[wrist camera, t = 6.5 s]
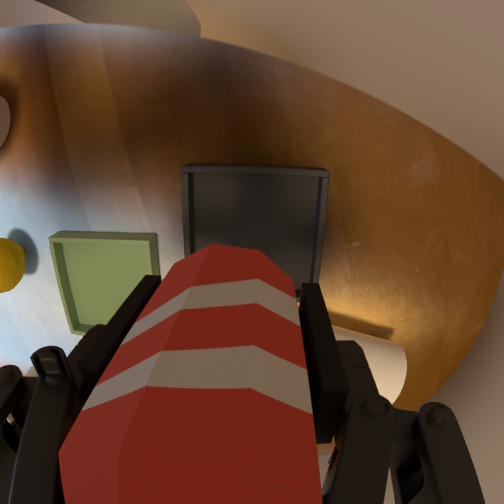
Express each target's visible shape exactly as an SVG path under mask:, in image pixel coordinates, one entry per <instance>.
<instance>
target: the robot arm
mask: <svg viewBox="0 0 504 504" xmlns="http://www.w3.org/2000/svg"><path fill="white" fill-rule="evenodd" d="M160 284H161V275H145V276H144V277H143V278H142V280H141V281H140V282H139V283H138V285H137V286H136V287H135V288H134V290H133V291H132V292H131V293H130V295H129V296H128V297H127V298H126V300H125V301H124V302H123V304H122V305H121V306H120V307H119V309H118V310H117V311H116V313H115V314H114V315H113V316H112V318H111V319H110V320H109V322H108V323H107V324H106V325H105V324H97V325H95V326H94V327H92V328H91V329H89V330H88V331H87V332H86V334H85V335H84V336H83V339H81V340H80V341H79V343H78V345H76V346H75V348H74V349H73V350H72V352H71V353H70V354H69V355H68V357H66V355H65V352H64V351H63V349H61V348H60V347H58V346H46V347H43V348H40V349H38V350H37V351H35V352H34V353H33V354H32V356H31V357H30V359H31V361H32V363H33V366H34V368H35V370H36V372H37V374H38V377H31V376H23V374H22V372H21V370H20V369H19V367H17V366H15V365H6V366H3V367H1V368H0V504H65V499H64V493H63V486H62V479H61V472H60V464H59V454H58V452H59V450H60V448H61V446H62V445H63V443H64V441H65V439H66V437H67V435H68V433H69V432H70V430H71V428H72V426H73V424H74V423H75V421H76V419H77V417H78V416H79V414H80V412H81V410H82V409H83V407H84V405H85V403H86V402H87V400H88V398H89V396H90V395H91V393H92V391H93V390H94V388H95V386H96V385H97V383H98V381H99V380H100V378H101V376H102V375H103V373H104V371H105V370H106V368H107V366H108V365H109V363H110V361H111V360H112V358H113V356H114V355H115V353H116V352H117V350H118V348H119V347H120V345H121V344H122V342H123V340H124V339H125V337H126V336H127V334H128V333H129V331H130V329H131V328H132V326H133V325H134V323H135V322H136V320H137V319H138V317H139V315H140V314H141V312H142V311H143V309H144V308H145V306H146V305H147V303H148V302H149V300H150V299H151V297H152V296H153V294H154V293H155V291H156V290H157V288H158V287H159V285H160ZM299 319H300V326H301V332H302V339H303V346H304V353H305V360H306V367H307V374H308V381H309V389H310V396H311V404H312V412H313V420H314V428H315V437H316V444H323V443H331V441H332V438H333V435H334V438H335V444H336V445H335V448H334V450H333V453H332V455H331V457H330V460H329V462H328V463H330V464H329V467H328V471H327V474H326V477H325V481H324V484H323V487H322V490H321V493H322V504H383V502H384V497H385V490H386V484H387V476H388V469H389V468H390V471H391V478H392V484H393V491H394V498H395V504H485V501H484V497H483V494H482V490H481V487H480V484H479V481H478V477H477V474H476V471H475V468H474V465H473V462H472V459H471V457H470V453H469V451H468V448H467V445H466V443H465V440H464V437H463V434H462V432H461V429H460V427H459V424H458V422H457V419H456V417H455V415H454V413H453V412H452V410H451V409H450V408H449V407H447V406H446V405H444V404H442V403H439V402H429V403H426V404H424V405H423V406H422V407H420V409H419V411H418V412H414V411H407V410H401V409H397V408H394V407H393V406H392V404H391V403H390V401H389V400H388V399H386V398H385V397H383V396H382V395H380V394H379V391H378V388H377V386H376V383H375V380H374V377H373V375H372V372H371V369H370V367H369V364H368V361H367V359H366V356H365V353H364V351H363V348H362V347H361V346H360V345H359V344H358V343H357V342H356V341H355V340H336V338H335V335H334V331H333V328H332V325H331V321H330V318H329V315H328V312H327V308H326V305H325V302H324V299H323V295H322V292H321V289H320V286H319V283H302V287H301V296H300V305H299ZM9 414H11V416H12V418H13V421H12V422H11V423H9V422H8V421H7V418H8V416H9Z"/></svg>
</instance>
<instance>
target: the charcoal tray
mask: <svg viewBox="0 0 504 504" xmlns="http://www.w3.org/2000/svg"><path fill="white" fill-rule="evenodd" d="M328 183H329V171H328V170H326V169H322V168H308V167H292V166H272V165H242V164H187V165H185V166H182V205H183V233H184V253H185V258H186V257H188V256H190V255H192V254H194V253H195V252H197V251H199V250H201V249H203V248H205V247H207V246H209V245H211V244H219V245H226V246H233V247H240V248H248V249H255V250H260V251H261V252H263V253H264V254H265V255H266V256H267V257H268V258H269V259H270V260H271V261H272V262H273V263H275V264H276V265H277V266H278V267H279V268H280V269H281V270H282V271H283V272H284V273H285V274H287V275H288V276H289V277H290V278H291V279H292V280H293V282H294V288H295V294H296V300H297V302H300V296H301V287H302V283H318V282H319V274H320V266H321V258H322V249H323V239H324V229H325V219H326V208H327V196H328Z"/></svg>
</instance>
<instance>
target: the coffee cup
mask: <svg viewBox="0 0 504 504" xmlns="http://www.w3.org/2000/svg"><path fill="white" fill-rule="evenodd" d="M9 127H10V109H9V105H8V103H7V101H6V100H5V98H3V97H2V96H0V147H1V146H2V145H3V143H4V141H5V139H6V137H7V134H8V131H9Z"/></svg>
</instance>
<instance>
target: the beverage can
mask: <svg viewBox="0 0 504 504" xmlns="http://www.w3.org/2000/svg"><path fill="white" fill-rule="evenodd" d="M58 454H59V464H60V472H61V479H62V486H63V493H64V499H65V504H322V493H321V484H320V473H319V463H318V454H317V445H316V437H315V428H314V420H313V412H312V404H311V396H310V389H309V381H308V374H307V367H306V360H305V353H304V346H303V339H302V332H301V326H300V319H299V313H298V306H297V300H296V294H295V288H294V282H293V280H292V279H291V278H290V277H289V276H288V275H287V274H285V273H284V272H283V271H282V270H281V269H280V268H279V267H278V266H277V265H276V264H275V263H273V262H272V261H271V260H270V259H269V258H268V257H267V256H266V255H265V254H264V253H263V252H261V251H260V250H255V249H248V248H240V247H233V246H226V245H219V244H211V245H209V246H207V247H205V248H203V249H201V250H199V251H197V252H195V253H194V254H192V255H190V256H188V257H186V258H184V259H182V260H180V261H178V262H176V263H175V264H174V265H173V266H172V268H171V269H170V271H169V272H168V273H167V275H166V276H165V278H164V279H163V281H162V282H161V284H160V285H159V287H158V288H157V290H156V291H155V293H154V294H153V296H152V297H151V299H150V300H149V302H148V303H147V305H146V306H145V308H144V309H143V311H142V312H141V314H140V315H139V317H138V319H137V320H136V322H135V323H134V325H133V326H132V328H131V329H130V331H129V333H128V334H127V336H126V337H125V339H124V340H123V342H122V344H121V345H120V347H119V348H118V350H117V352H116V353H115V355H114V356H113V358H112V360H111V361H110V363H109V365H108V366H107V368H106V370H105V371H104V373H103V375H102V376H101V378H100V380H99V381H98V383H97V385H96V386H95V388H94V390H93V391H92V393H91V395H90V396H89V398H88V400H87V402H86V403H85V405H84V407H83V409H82V410H81V412H80V414H79V416H78V417H77V419H76V421H75V423H74V424H73V426H72V428H71V430H70V432H69V433H68V435H67V437H66V439H65V441H64V443H63V445H62V446H61V448H60V450H59V452H58Z"/></svg>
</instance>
